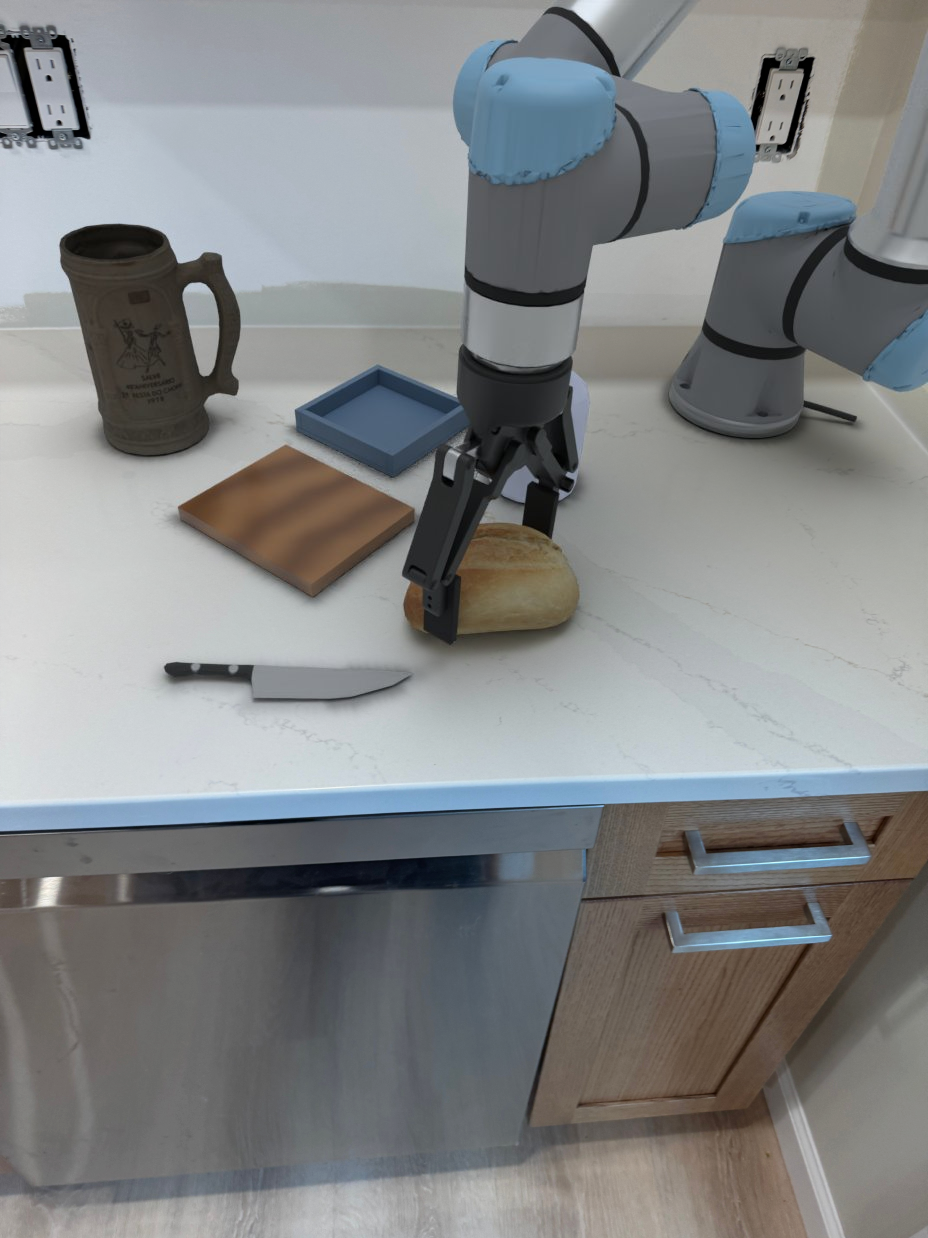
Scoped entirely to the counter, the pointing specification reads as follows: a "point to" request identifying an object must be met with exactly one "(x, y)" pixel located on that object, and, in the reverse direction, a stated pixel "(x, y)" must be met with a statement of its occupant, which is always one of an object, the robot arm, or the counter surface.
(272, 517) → the bread board
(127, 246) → the beer stein
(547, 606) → the bread roll
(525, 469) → the soap bottle
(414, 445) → the soap tray
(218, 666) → the chef's knife
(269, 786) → the counter surface
